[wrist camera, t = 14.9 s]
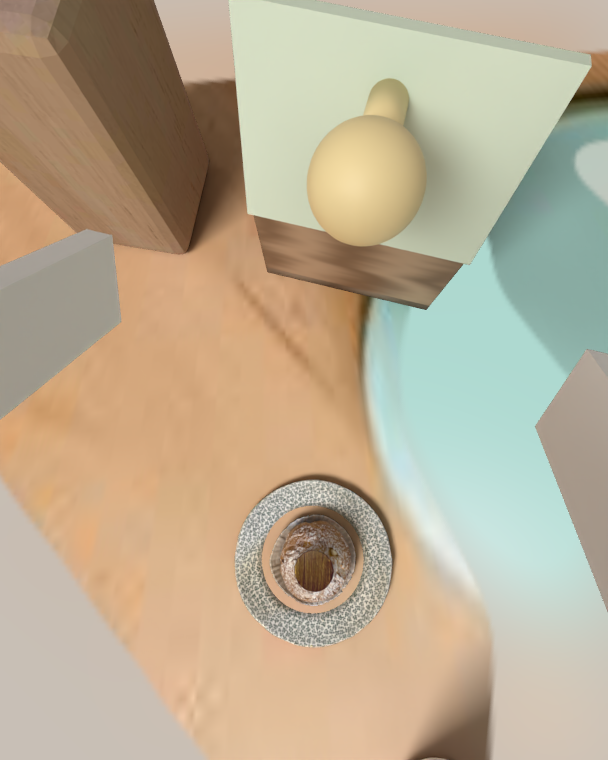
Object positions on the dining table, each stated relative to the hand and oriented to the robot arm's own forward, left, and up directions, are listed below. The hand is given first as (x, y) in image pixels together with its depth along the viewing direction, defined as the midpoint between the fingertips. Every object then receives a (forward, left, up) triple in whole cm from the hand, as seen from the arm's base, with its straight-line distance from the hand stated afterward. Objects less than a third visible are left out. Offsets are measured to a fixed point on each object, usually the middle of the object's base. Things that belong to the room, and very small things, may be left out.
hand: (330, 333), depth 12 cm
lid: (-3, -12, -8) cm, 15 cm away
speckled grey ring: (+1, +12, -23) cm, 26 cm away
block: (+15, -19, -23) cm, 33 cm away
